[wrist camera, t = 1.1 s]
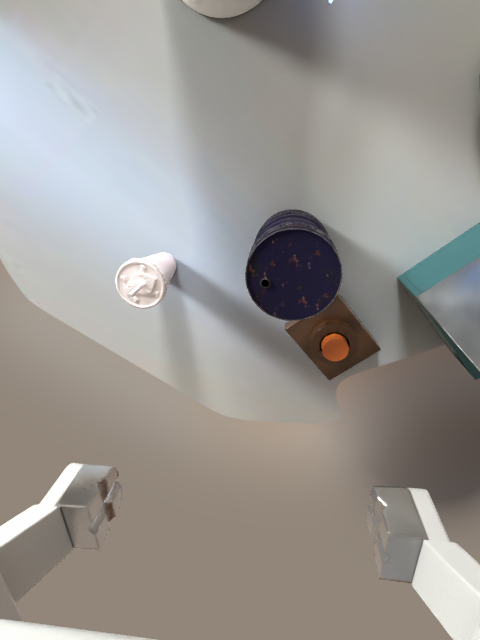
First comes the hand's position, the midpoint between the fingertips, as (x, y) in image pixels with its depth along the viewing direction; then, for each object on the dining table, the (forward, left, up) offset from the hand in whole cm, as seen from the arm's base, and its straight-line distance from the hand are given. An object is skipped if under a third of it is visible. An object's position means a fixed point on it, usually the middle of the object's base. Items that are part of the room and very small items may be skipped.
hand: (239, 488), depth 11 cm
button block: (+11, +12, -41) cm, 45 cm away
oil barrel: (0, +2, -42) cm, 42 cm away
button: (+11, +13, -38) cm, 41 cm away
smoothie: (+8, -15, -42) cm, 45 cm away
